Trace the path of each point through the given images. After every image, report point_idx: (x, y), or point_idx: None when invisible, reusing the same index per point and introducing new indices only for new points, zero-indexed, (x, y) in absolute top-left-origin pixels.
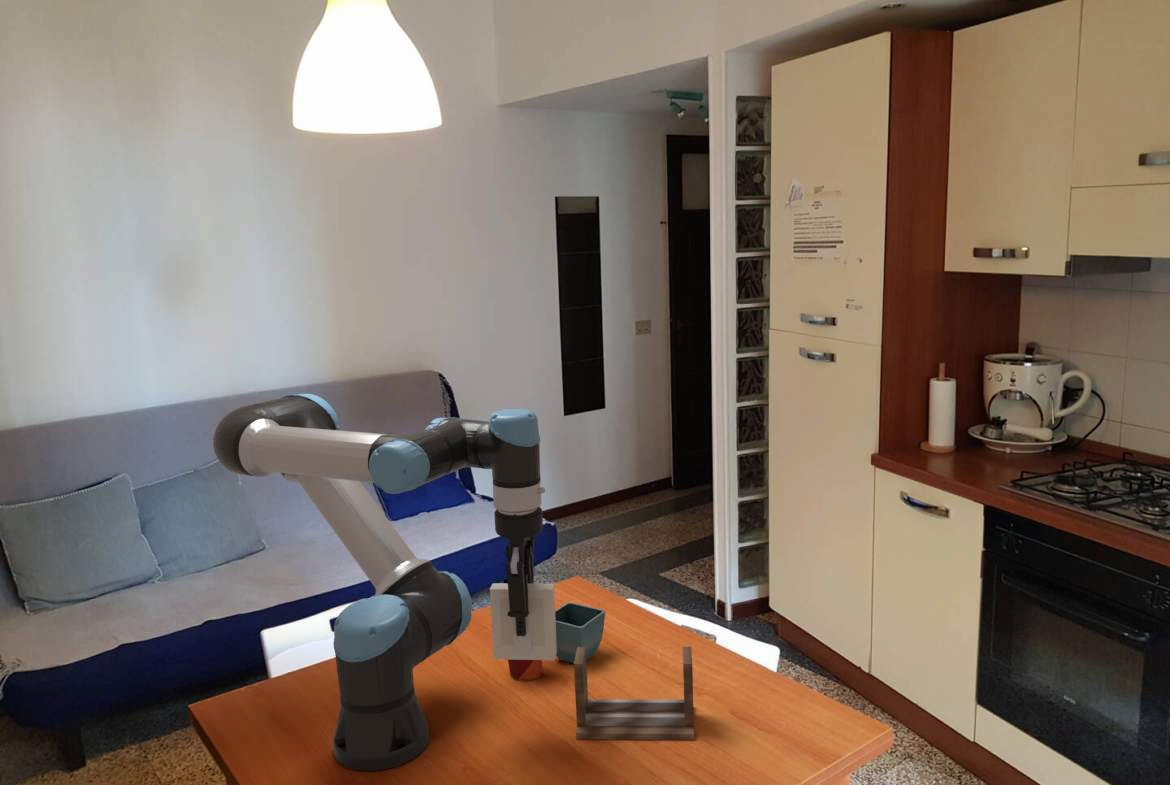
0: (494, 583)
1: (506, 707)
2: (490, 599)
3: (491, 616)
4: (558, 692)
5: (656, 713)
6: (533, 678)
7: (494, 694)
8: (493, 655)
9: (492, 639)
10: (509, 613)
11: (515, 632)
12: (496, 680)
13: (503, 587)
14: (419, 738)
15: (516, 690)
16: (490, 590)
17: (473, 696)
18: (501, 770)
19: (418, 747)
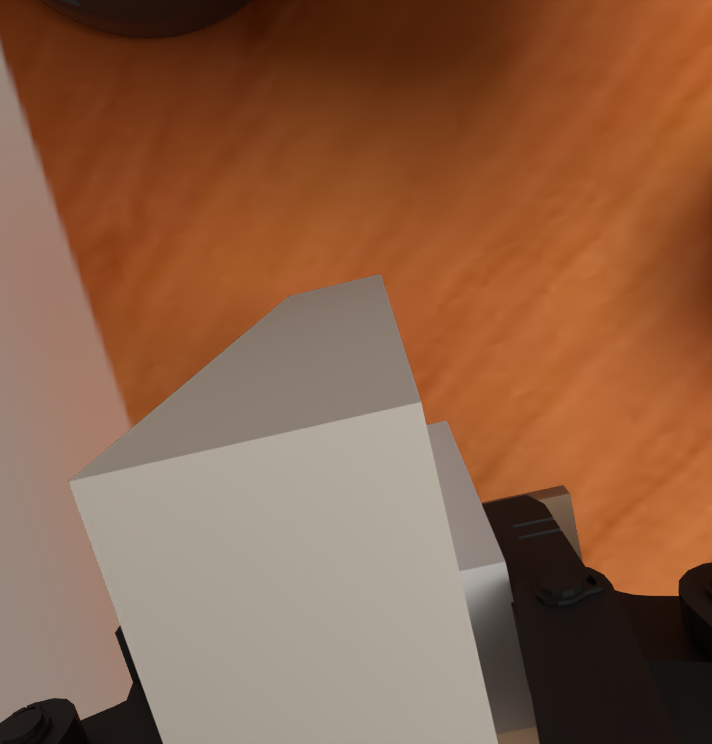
0: (425, 447)
1: (506, 221)
2: (152, 413)
3: (227, 352)
4: (648, 374)
5: (537, 736)
6: None
7: (593, 130)
8: (285, 299)
9: (268, 313)
10: (127, 652)
11: None
12: (707, 87)
13: (251, 723)
14: (109, 14)
15: (638, 208)
16: (81, 486)
17: (562, 46)
18: (137, 364)
19: (108, 25)
